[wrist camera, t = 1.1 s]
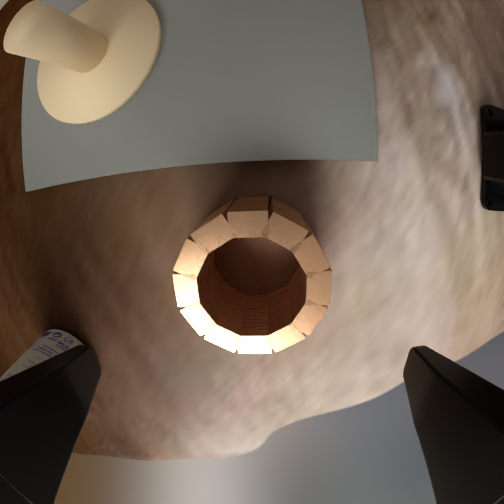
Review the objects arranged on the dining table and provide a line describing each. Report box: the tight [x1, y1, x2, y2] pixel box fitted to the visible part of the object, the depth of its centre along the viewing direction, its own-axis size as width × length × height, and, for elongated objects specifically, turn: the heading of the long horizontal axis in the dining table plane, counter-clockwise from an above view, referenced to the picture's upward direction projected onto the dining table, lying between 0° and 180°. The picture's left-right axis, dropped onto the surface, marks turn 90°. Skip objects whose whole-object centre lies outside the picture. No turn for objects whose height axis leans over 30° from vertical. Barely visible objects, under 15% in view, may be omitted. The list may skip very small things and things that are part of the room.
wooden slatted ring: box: [173, 196, 332, 354], centre depth 14 cm, size 6×6×4 cm
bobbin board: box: [4, 0, 378, 192], centre depth 9 cm, size 20×14×7 cm
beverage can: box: [0, 329, 82, 381], centre depth 12 cm, size 6×6×15 cm
